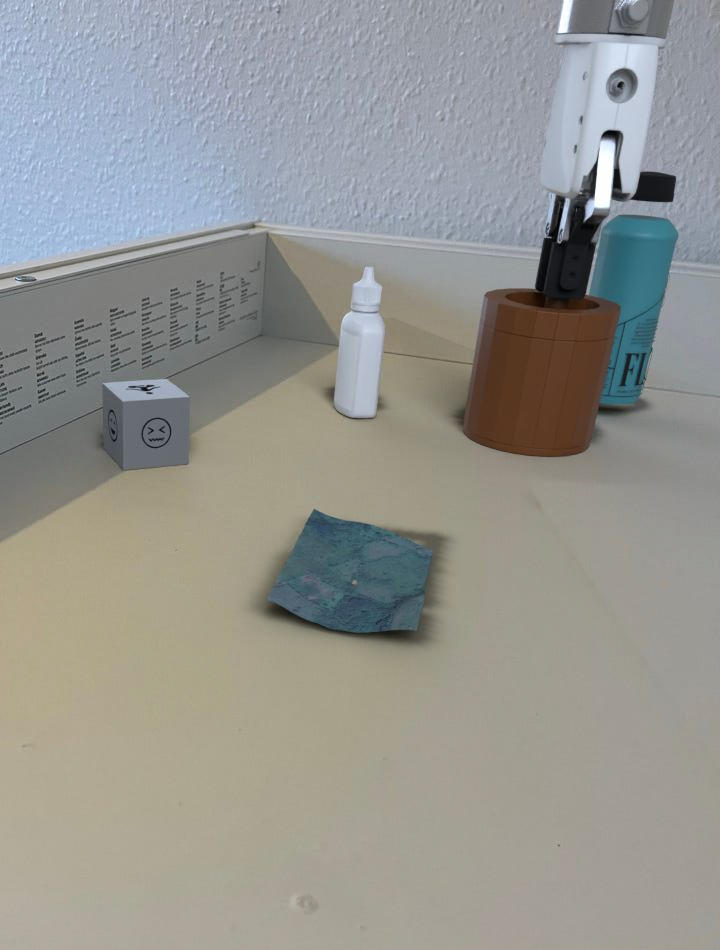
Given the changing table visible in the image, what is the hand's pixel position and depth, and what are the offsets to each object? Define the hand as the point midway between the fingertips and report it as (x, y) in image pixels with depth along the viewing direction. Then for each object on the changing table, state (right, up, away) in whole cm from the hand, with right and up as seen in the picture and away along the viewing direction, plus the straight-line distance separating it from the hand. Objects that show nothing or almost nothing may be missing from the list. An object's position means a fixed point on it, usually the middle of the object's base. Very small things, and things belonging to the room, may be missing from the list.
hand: (559, 293), depth 78 cm
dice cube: (-32, -14, -4) cm, 36 cm away
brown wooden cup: (-1, -11, +5) cm, 12 cm away
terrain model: (-19, -25, -23) cm, 39 cm away
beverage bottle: (+8, -7, +13) cm, 16 cm away
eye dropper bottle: (-15, -8, +9) cm, 19 cm away
